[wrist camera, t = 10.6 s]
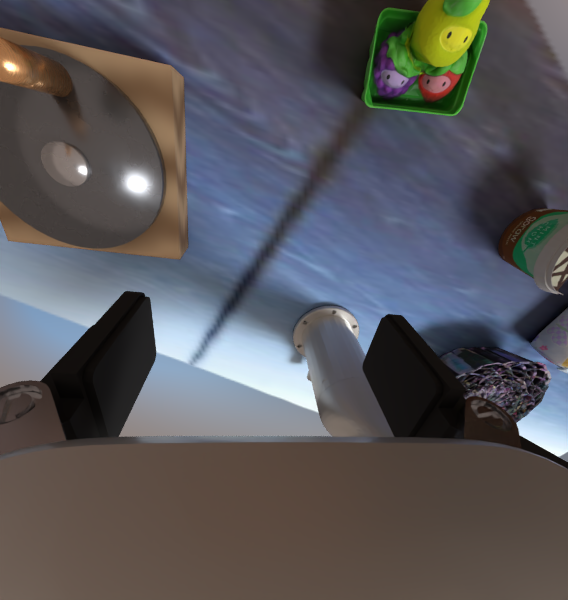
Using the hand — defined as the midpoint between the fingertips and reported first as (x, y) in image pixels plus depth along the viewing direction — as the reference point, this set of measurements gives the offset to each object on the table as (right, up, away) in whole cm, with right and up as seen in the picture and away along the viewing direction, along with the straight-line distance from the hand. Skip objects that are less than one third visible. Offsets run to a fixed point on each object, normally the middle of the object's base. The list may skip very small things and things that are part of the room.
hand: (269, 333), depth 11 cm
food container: (+39, +13, +32) cm, 52 cm away
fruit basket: (+15, +29, +20) cm, 38 cm away
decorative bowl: (+41, -17, +50) cm, 67 cm away
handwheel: (-22, +16, +17) cm, 32 cm away
